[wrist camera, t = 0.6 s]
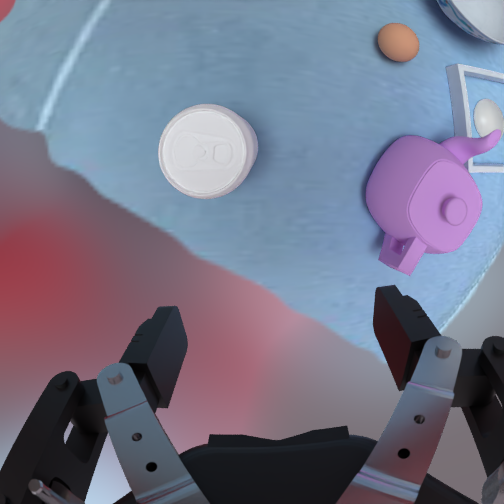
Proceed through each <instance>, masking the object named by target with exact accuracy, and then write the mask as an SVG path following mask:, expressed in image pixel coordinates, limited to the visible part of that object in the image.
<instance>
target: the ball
mask: <svg viewBox="0 0 504 504" xmlns="http://www.w3.org/2000/svg"><path fill="white" fill-rule="evenodd" d="M378 44H379V47H380V49H381V51H382V52H383V53H384V54H385V55H386V56H387V57H388V58H390V59H392V60H394V61H398V62H406V61H409V60H411V59H413V58H414V57H415V56H416V55H417V53H418V51H419V41H418V38H417V36H416V34H415V33H414V32H413V31H412V30H411V29H410V28H409V27H407V26H406V25H403V24H400V23H390V24H387V25H385V26H384V27H383V28H382V29H381V30H380V32H379V34H378Z"/></svg>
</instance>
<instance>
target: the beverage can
mask: <svg viewBox="0 0 504 504" xmlns="http://www.w3.org/2000/svg"><path fill="white" fill-rule="evenodd" d="M257 153H258V140H257V136H256V134H255V131H254V130H253V128H252V127H251V125H250V124H249V123H248V122H247V121H246V120H245V119H243V118H242V117H240V116H239V115H237V114H236V113H235V112H233V111H231V110H230V109H228V108H225V107H223V106H220V105H215V104H199V105H195V106H191V107H189V108H186V109H184V110H183V111H181V112H179V113H178V114H177V115H176V116H174V117H173V118H172V119H171V120H170V122H169V123H168V124H167V126H166V127H165V129H164V131H163V133H162V135H161V138H160V142H159V150H158V156H159V163H160V166H161V169H162V171H163V173H164V175H165V177H166V178H167V180H168V181H169V182H170V184H171V185H172V186H173V187H175V188H176V189H177V190H178V191H180V192H182V193H183V194H185V195H188V196H191V197H194V198H199V199H212V198H217V197H221V196H223V195H226V194H228V193H230V192H231V191H233V190H234V189H236V188H237V187H238V186H239V185H240V184H241V183H242V182H243V181H244V179H245V178H246V176H247V175H248V173H249V171H250V169H251V168H252V166H253V164H254V162H255V160H256V157H257Z"/></svg>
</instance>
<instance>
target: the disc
mask: <svg viewBox="0 0 504 504" xmlns="http://www.w3.org/2000/svg"><path fill="white" fill-rule="evenodd" d="M473 117H474V124H475V128H476V130H477V132H478V134H479V135H480V137H484V136H486V135H488V134H490V133H491V132H492V131H494V130H496V129H499V130H501V137H502V135H503V132H504V118H503V115H502V112H501V110H500V108H499V107H498V105H497V104H496V103H495V102H493V101H492V100H490V99H482V100H480V101H479V102H478V103H477V104H476V106H475V108H474V114H473ZM501 137H500V139H501Z"/></svg>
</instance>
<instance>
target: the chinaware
mask: <svg viewBox="0 0 504 504" xmlns="http://www.w3.org/2000/svg"><path fill="white" fill-rule="evenodd" d="M437 2H438V4H439V6H440V8H441V10H442V11H443V12H444V14H445V15H446V16H447V17H448V18H449V19H450V20H452V21H453V22H454V23H455V24H456V25H457V26H458V27H460V28H461V29H462V30H464V31H465V32H467V33H468V34H470V35H472V36H474V37H476V38H478V39H480V40H483V41H486V42H490V43H494V44H502V45H504V0H437Z"/></svg>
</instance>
